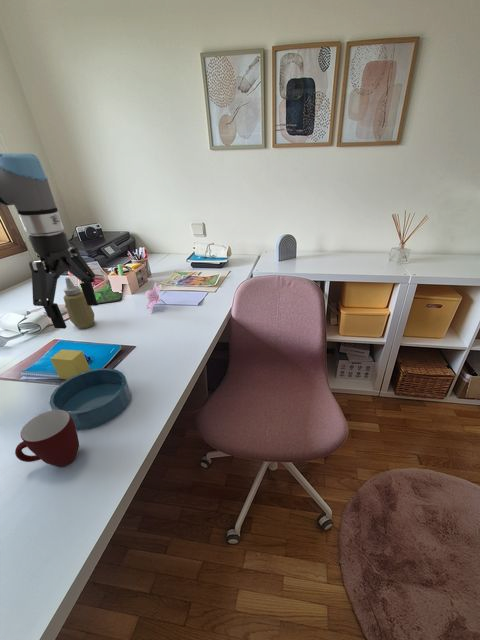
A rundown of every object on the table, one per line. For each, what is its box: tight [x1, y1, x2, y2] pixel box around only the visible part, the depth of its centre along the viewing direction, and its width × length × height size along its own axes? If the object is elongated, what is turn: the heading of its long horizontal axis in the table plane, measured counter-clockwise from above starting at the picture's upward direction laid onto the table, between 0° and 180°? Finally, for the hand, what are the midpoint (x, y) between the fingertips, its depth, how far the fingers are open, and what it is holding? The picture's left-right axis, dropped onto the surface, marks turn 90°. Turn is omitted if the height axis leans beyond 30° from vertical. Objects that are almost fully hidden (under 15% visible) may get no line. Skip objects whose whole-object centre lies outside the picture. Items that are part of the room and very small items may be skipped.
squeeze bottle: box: [63, 277, 95, 330], centre depth 106 cm, size 8×8×18 cm
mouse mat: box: [64, 284, 123, 308], centre depth 136 cm, size 27×22×1 cm
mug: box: [14, 409, 80, 468], centre depth 58 cm, size 11×8×10 cm
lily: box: [145, 282, 167, 314], centre depth 120 cm, size 12×12×10 cm
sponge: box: [49, 349, 91, 380], centre depth 83 cm, size 6×4×7 cm
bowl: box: [48, 367, 132, 431], centre depth 74 cm, size 17×17×5 cm
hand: (78, 315), depth 81 cm, fingers open, 13 cm apart
